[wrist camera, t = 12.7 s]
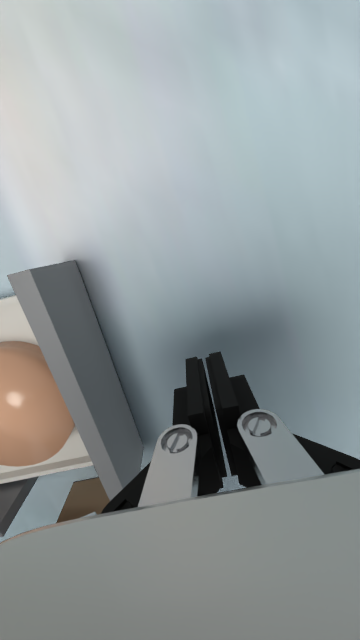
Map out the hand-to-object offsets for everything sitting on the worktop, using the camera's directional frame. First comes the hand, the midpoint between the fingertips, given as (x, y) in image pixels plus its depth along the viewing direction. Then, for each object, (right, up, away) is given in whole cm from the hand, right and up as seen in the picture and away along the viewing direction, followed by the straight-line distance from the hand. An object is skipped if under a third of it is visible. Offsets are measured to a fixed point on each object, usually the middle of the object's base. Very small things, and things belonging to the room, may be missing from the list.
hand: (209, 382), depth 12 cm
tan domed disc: (-12, -2, +5) cm, 13 cm away
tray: (-13, -2, +6) cm, 14 cm away
